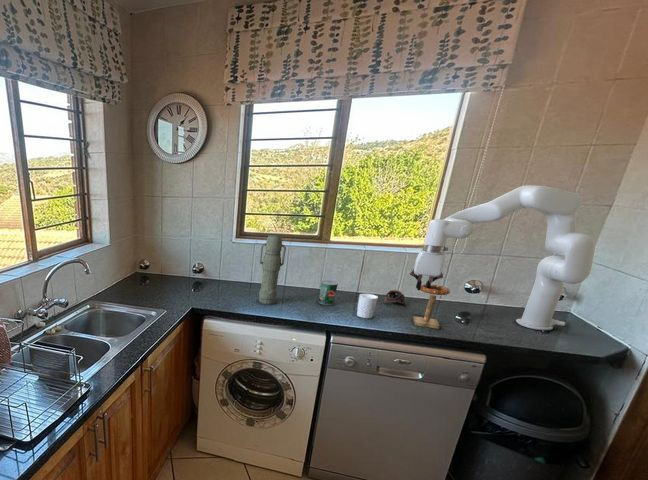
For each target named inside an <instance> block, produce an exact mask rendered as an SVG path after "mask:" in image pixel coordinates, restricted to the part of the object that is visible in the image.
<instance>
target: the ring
mask: <svg viewBox="0 0 648 480" xmlns="http://www.w3.org/2000/svg"><path fill="white" fill-rule="evenodd" d="M425 286H426V283H424V284H421V287H420V290H419V291H421V292H423V293H426V294H430V295H436V296H446V295H449V294H450V293H451V290H450V289H449V288H448V287H446V286H442V285H438V284H431V286H430V289H429V288H426V287H425Z"/></svg>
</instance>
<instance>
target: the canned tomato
mask: <svg viewBox="0 0 648 480" xmlns="http://www.w3.org/2000/svg"><path fill="white" fill-rule="evenodd" d="M338 285H339V282H337V281H333V280H321V282H320V288H319V294H318V300H317V303H318V304H321V305H323V306H324V305H325V306H333V305H335V301H336V295H337V291H338Z"/></svg>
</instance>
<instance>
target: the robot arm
mask: <svg viewBox="0 0 648 480" xmlns="http://www.w3.org/2000/svg"><path fill="white" fill-rule="evenodd" d="M583 203H584V201H583V197H582V196H581V194H579V193H577V192H574V191H569V190H564V189H560V188H555V187H552V186H547V185H546V186H545V185H535V184H525V185H521V186H518V187H516V188H513V189H511V190H510V191H508V192H505V193H504V194H502V195H500V196H498V197H496V198H494V199H492V200H490V201H487V202H485V203H481V204H477V205H475V206H471V207H468V208H465V209H462V210H459V211H457V212H455V213H453V214H451V215H449V216H447V217H446V218H444V219H443V218H442V219H439V218H435V219H432V220H430V221H429V223H428V227H427V231H426V235H425V238H424V243H423V247H422V250H419V252H418V253H417V256H416V259H415V262H414V265H413V268H412V269H411V271H410V272H409V275H410V276H411V277H413V278H415V279H416V285H415V289H416V290H417V291H418V292H419V291H421V290H420V287H421V285H423V282H422V279H423V276H428V279H427V281H426V282H425V284H426V286H425V287H426V288H429V289H430V286H431V285H432V284H433V282H435V281H437V280H440V279H443V278H444V273H443V270H444V269H443V268H444V262H445V252H447V251H449V247H448V246H446V244H447V240H448V238H450V239H451V238H452V239H457V240H458V239H460V240H462V239H466V238H469V237H470V236H471V235H473V233H474V231H475V226H474V224H481V223H489V222H496V221H500V220H502V219H504V218H506V217H508V216H510V215H512V214H514V213H516V212H518V211H520V210H522V209H526V208H528V209H534V210H536V211H537V212H540V213H541V214H542V215H543V216H544V217H545V219H546V233H545V234H546V235H545V243H544V248H545V250H546V251H547V252H548V253H551V254H554V255H548V256H546V257H544V258H542V259H541V260H540V261H539V262H538V264H537V266H536V275H535V281H534V284H533V285H532V289H531V291H530V294H529V297H528V299H527V302H526V305H525V308H524V311H523V314H522V316H521V317H520V318H517V319H515V322H516V323H517V324H518V325H519V326H521V327H524V328H528V329H532V330H538V331H552V330H553V329H554V326H559V327H564V326H565V325H566V322H565V321H561V320H559V319H555V318H553V317H554V313H555V312H556V309H557V306H558V304H559V301H560V299H561V296H562V294H563V291H564V283H566V284H570V285H577V284H580V283H583V282H584V281H585V280H587V279H588V277H589V276H590V275H591V271H592V267H593V262H594V256H595V250H596V243H595V240H594V239H593V237H592V236H590V235H588V234H585V233H579V232H577V222H578V218H577V217H578V216H577V212H578V211H579V210H580V209H581V208H582V206H583Z"/></svg>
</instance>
